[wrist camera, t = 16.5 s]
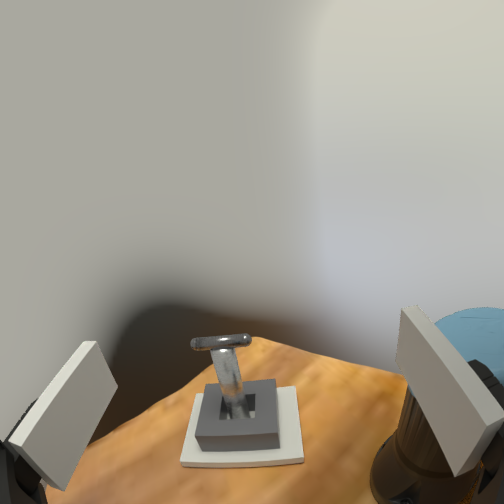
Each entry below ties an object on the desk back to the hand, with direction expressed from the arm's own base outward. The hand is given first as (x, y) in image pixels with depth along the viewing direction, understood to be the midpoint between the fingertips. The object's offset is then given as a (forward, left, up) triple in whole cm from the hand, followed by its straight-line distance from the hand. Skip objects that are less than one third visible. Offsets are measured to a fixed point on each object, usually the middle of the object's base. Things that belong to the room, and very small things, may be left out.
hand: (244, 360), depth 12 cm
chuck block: (+6, -21, -30) cm, 37 cm away
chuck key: (+6, -21, -29) cm, 36 cm away
